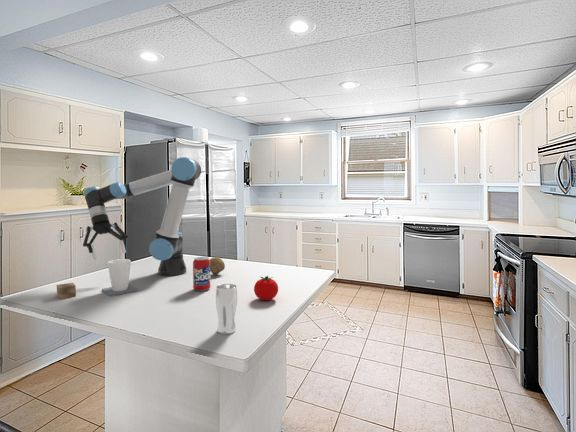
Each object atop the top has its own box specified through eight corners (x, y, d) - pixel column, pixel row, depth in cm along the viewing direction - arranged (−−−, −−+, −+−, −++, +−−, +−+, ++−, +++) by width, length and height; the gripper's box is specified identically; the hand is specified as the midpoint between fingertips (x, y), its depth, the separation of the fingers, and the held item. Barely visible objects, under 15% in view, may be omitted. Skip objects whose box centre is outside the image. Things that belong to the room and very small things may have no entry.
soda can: (204, 286, 162) (204, 255, 161) (213, 289, 157) (213, 258, 156) (190, 289, 157) (189, 257, 156) (198, 293, 151) (198, 260, 150)
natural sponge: (223, 272, 190) (223, 255, 190) (225, 276, 182) (225, 258, 181) (207, 273, 187) (207, 255, 187) (208, 277, 179) (208, 259, 178)
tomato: (269, 305, 136) (269, 281, 135) (248, 300, 142) (248, 277, 141) (282, 298, 145) (283, 275, 144) (263, 294, 151) (263, 272, 150)
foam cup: (122, 292, 148) (121, 263, 147) (103, 291, 150) (102, 262, 149) (135, 286, 158) (134, 259, 157) (118, 285, 159) (117, 258, 158)
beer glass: (226, 324, 116) (226, 282, 115) (241, 329, 112) (241, 285, 111) (211, 331, 110) (211, 287, 109) (226, 336, 106) (226, 290, 105)
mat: (129, 285, 162) (129, 283, 162) (138, 291, 154) (138, 289, 154) (102, 290, 154) (102, 288, 154) (110, 296, 145) (110, 294, 145)
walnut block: (73, 293, 150) (72, 282, 149) (75, 296, 145) (75, 285, 145) (57, 296, 146) (56, 285, 145) (59, 299, 141) (58, 288, 141)
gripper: (122, 215, 180) (133, 252, 176) (69, 222, 162) (80, 263, 159) (126, 210, 175) (138, 248, 171) (72, 216, 157) (83, 259, 153)
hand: (110, 255), depth 165 cm, fingers open, 13 cm apart
